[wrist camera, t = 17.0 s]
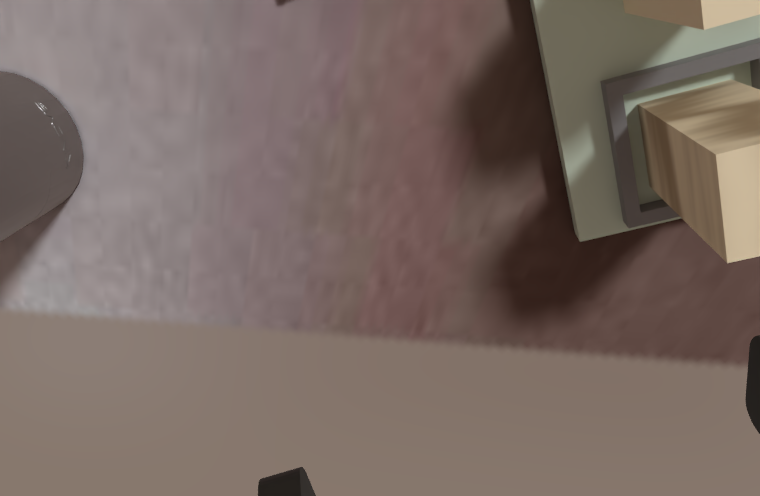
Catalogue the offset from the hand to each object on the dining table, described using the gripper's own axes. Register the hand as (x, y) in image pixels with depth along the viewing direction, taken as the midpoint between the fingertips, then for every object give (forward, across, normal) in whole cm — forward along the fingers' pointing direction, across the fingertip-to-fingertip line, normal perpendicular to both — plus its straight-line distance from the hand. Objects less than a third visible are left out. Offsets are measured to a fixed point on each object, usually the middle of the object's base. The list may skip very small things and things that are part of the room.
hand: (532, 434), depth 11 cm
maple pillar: (+24, -18, +8) cm, 31 cm away
